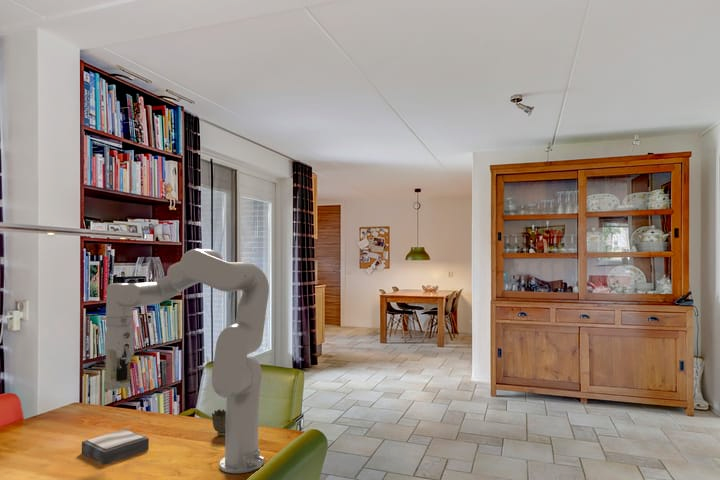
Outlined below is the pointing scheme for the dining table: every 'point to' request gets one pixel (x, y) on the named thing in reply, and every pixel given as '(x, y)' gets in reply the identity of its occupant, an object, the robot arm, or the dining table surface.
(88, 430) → the dining table surface
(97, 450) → the plinth
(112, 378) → the skincare box
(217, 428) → the cup
